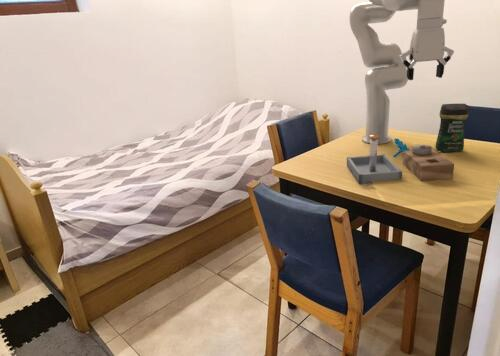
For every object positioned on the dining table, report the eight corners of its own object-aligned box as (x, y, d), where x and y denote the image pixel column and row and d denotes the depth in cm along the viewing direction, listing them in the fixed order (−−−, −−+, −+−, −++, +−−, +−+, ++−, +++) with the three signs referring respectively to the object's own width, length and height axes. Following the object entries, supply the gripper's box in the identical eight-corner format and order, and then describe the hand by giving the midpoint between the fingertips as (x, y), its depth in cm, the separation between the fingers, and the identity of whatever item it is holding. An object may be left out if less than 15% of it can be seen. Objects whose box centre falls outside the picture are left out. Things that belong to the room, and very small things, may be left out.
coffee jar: (438, 154, 142) (443, 106, 135) (433, 147, 149) (438, 102, 142) (465, 153, 139) (472, 105, 132) (459, 147, 146) (465, 101, 139)
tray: (346, 165, 138) (346, 157, 137) (383, 163, 138) (384, 154, 137) (359, 184, 122) (359, 174, 120) (401, 181, 121) (402, 171, 120)
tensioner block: (402, 166, 133) (403, 143, 130) (430, 164, 132) (432, 141, 129) (420, 183, 118) (423, 158, 115) (452, 181, 118) (455, 155, 114)
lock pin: (367, 169, 131) (368, 134, 126) (375, 168, 131) (377, 133, 126) (369, 172, 128) (371, 137, 123) (378, 171, 128) (380, 136, 123)
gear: (413, 159, 134) (395, 139, 136) (400, 169, 137) (382, 149, 139) (416, 153, 144) (399, 135, 145) (404, 163, 147) (387, 144, 148)
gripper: (450, 22, 122) (445, 75, 128) (398, 27, 122) (395, 79, 129) (462, 21, 115) (455, 77, 121) (406, 27, 116) (403, 82, 122)
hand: (424, 78), depth 125 cm, fingers open, 9 cm apart
